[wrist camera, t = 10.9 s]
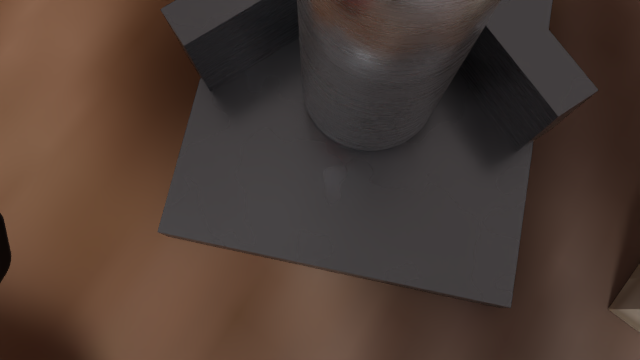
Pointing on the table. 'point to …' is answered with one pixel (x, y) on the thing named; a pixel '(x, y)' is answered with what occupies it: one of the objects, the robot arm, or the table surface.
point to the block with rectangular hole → (629, 301)
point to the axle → (382, 63)
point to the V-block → (365, 154)
